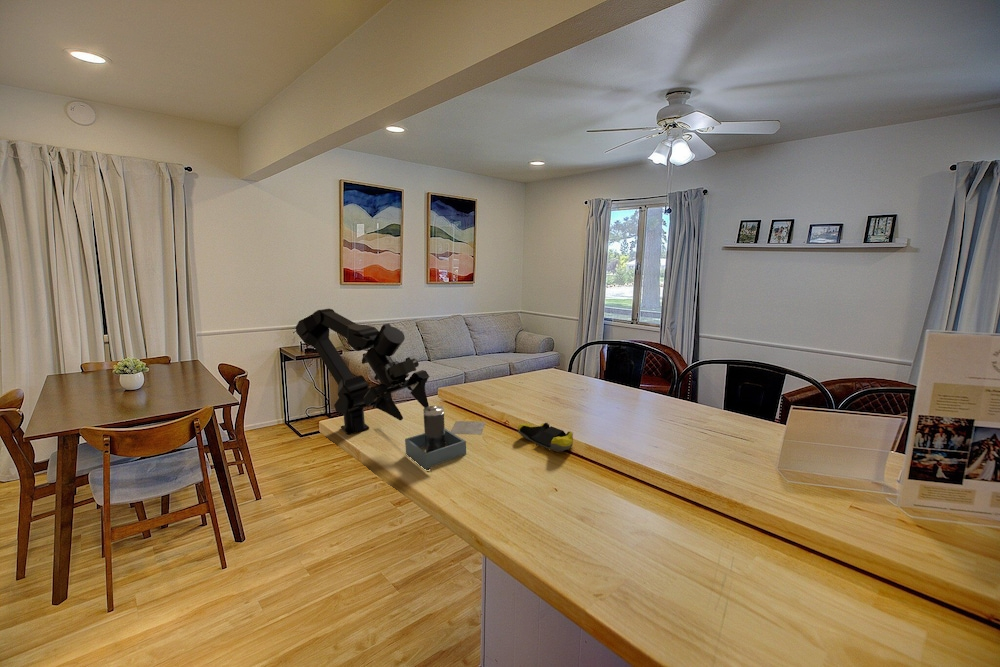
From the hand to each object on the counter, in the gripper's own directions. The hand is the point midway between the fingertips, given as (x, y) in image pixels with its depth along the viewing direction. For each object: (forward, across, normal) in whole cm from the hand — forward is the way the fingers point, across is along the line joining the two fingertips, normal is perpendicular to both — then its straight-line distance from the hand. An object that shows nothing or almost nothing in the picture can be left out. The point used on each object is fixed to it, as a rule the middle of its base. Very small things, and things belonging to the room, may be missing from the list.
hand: (415, 413), depth 113 cm
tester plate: (+10, +17, +5) cm, 20 cm away
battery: (+11, 0, +2) cm, 11 cm away
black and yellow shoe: (+27, +20, -12) cm, 36 cm away
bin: (+12, 0, +2) cm, 12 cm away
